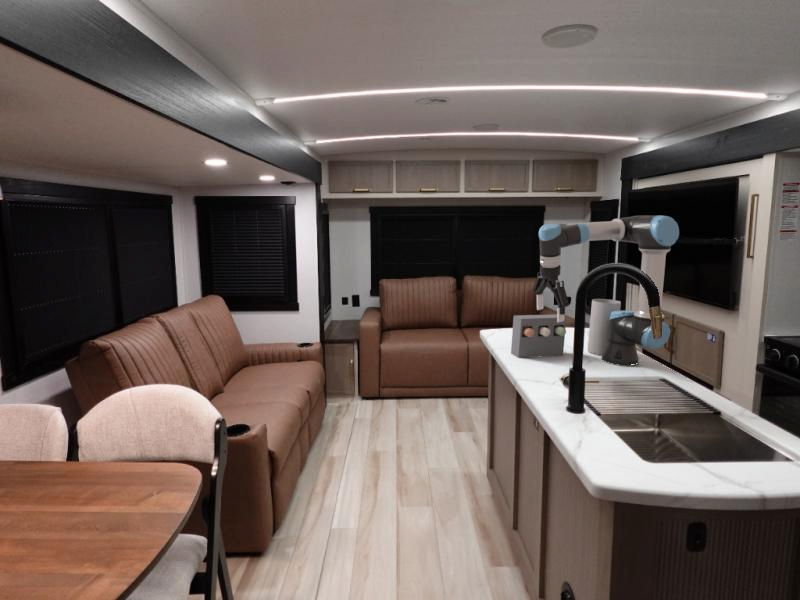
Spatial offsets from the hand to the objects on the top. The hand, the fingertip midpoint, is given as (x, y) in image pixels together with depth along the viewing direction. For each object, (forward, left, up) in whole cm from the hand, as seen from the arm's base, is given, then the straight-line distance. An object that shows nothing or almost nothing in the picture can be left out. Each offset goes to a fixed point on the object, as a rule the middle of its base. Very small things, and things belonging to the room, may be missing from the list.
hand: (550, 315), depth 196 cm
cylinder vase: (-45, -24, -25) cm, 57 cm away
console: (-12, -27, -24) cm, 38 cm away
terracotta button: (-4, -22, -14) cm, 26 cm away
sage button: (-20, -22, -14) cm, 33 cm away
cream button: (-12, -22, -14) cm, 29 cm away
